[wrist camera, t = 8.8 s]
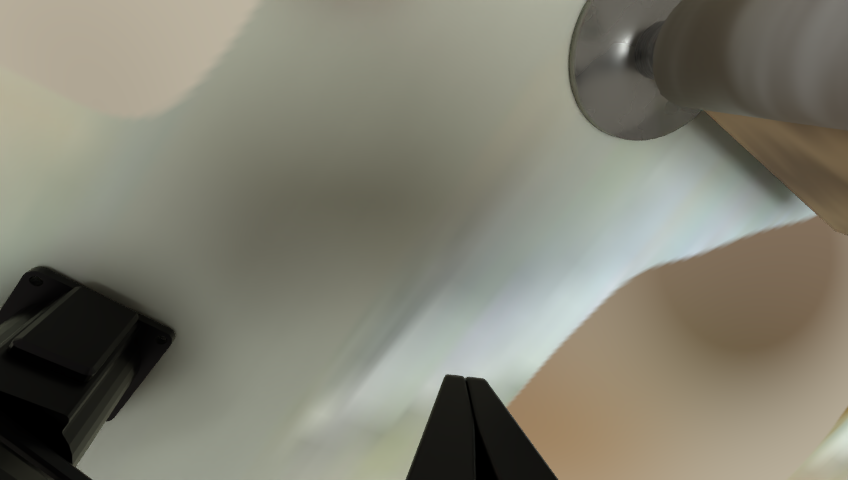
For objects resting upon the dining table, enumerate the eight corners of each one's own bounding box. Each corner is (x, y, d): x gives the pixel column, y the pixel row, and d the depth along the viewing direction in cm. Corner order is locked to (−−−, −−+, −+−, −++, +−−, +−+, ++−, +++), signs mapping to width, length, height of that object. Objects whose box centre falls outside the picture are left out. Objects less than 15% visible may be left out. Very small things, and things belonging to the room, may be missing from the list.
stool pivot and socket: (710, 259, 25) (780, 297, 21) (534, 59, 18) (586, 58, 14) (862, 120, 23) (971, 132, 19) (722, -160, 16) (843, -230, 12)
